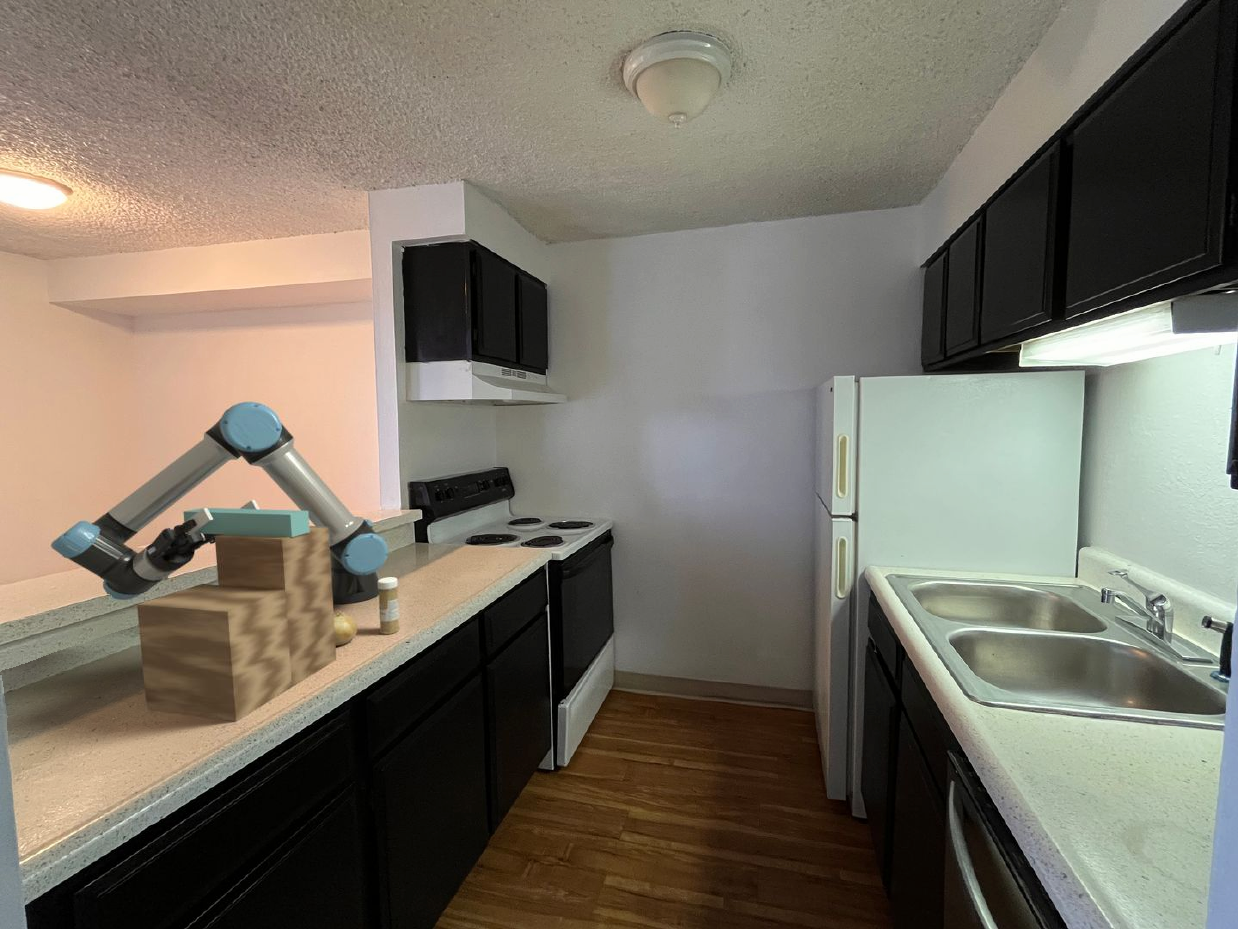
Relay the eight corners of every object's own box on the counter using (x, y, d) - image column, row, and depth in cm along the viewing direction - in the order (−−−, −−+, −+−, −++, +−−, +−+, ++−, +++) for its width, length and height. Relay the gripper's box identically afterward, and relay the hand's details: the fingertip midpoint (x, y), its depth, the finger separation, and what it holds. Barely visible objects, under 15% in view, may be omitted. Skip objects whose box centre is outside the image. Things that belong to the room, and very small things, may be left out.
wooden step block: (261, 652, 119) (251, 523, 116) (336, 659, 115) (328, 526, 112) (146, 709, 95) (131, 550, 93) (236, 721, 91) (223, 555, 89)
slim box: (206, 528, 112) (204, 507, 111) (309, 532, 107) (308, 510, 106) (185, 532, 107) (183, 511, 107) (291, 537, 102) (290, 514, 102)
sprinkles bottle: (376, 631, 130) (374, 579, 128) (394, 626, 133) (391, 575, 132) (385, 636, 127) (382, 583, 126) (403, 630, 130) (400, 578, 129)
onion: (364, 640, 125) (362, 612, 124) (330, 653, 118) (329, 623, 118) (346, 633, 129) (345, 605, 129) (313, 644, 123) (311, 615, 122)
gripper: (222, 557, 125) (286, 515, 120) (114, 587, 103) (187, 536, 98) (207, 531, 126) (270, 487, 121) (96, 555, 103) (168, 502, 99)
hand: (233, 509), depth 109 cm, fingers open, 10 cm apart
